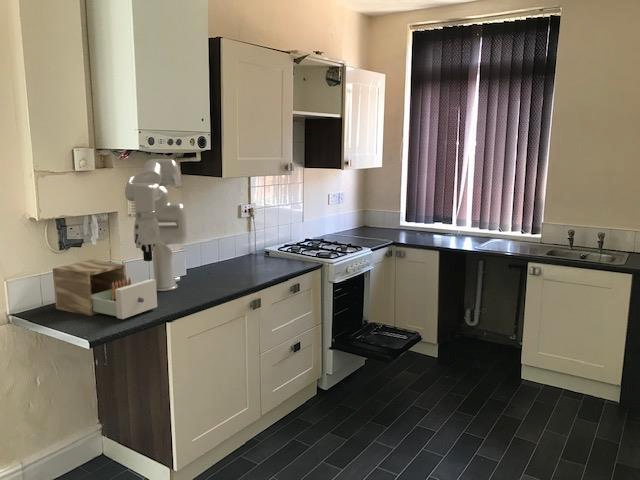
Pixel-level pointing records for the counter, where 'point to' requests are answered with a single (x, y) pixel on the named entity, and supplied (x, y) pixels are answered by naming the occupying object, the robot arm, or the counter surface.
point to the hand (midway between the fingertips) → (148, 260)
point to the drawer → (127, 299)
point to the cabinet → (84, 284)
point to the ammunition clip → (118, 285)
